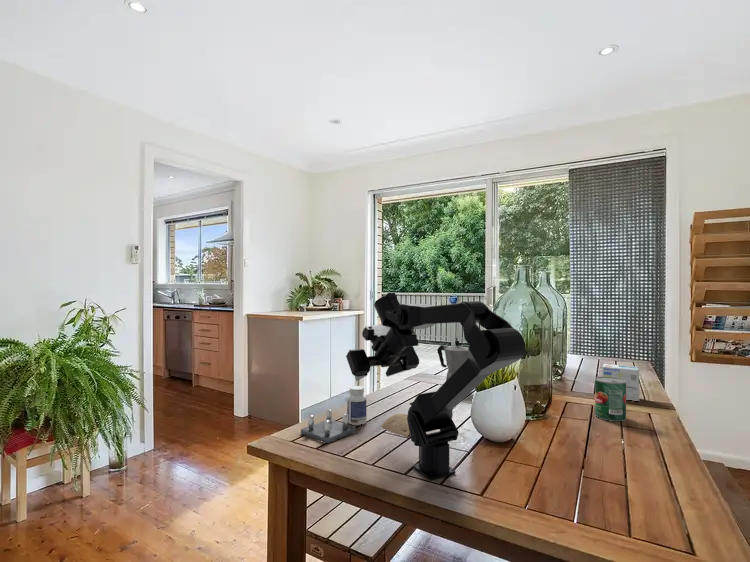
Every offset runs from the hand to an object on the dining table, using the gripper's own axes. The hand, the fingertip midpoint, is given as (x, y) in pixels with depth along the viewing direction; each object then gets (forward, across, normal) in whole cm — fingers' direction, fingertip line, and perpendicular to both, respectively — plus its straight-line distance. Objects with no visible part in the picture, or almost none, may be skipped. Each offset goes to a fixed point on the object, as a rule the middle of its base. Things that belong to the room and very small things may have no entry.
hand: (371, 377), depth 106 cm
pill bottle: (+16, 0, +5) cm, 17 cm away
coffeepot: (+26, -48, -4) cm, 54 cm away
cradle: (+13, +10, +7) cm, 18 cm away
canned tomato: (-9, -65, +28) cm, 71 cm away
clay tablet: (+9, -10, +12) cm, 18 cm away
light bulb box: (-2, -89, +21) cm, 91 cm away
